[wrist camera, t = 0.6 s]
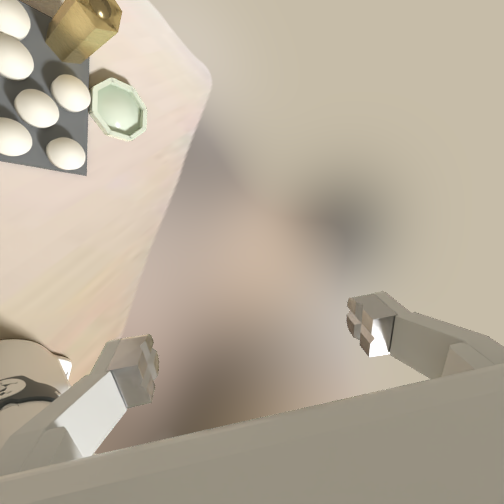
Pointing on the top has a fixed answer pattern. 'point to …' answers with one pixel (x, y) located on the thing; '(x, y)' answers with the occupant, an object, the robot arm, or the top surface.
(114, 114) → the dish
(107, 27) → the coupling nut
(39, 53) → the mat
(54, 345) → the top surface
